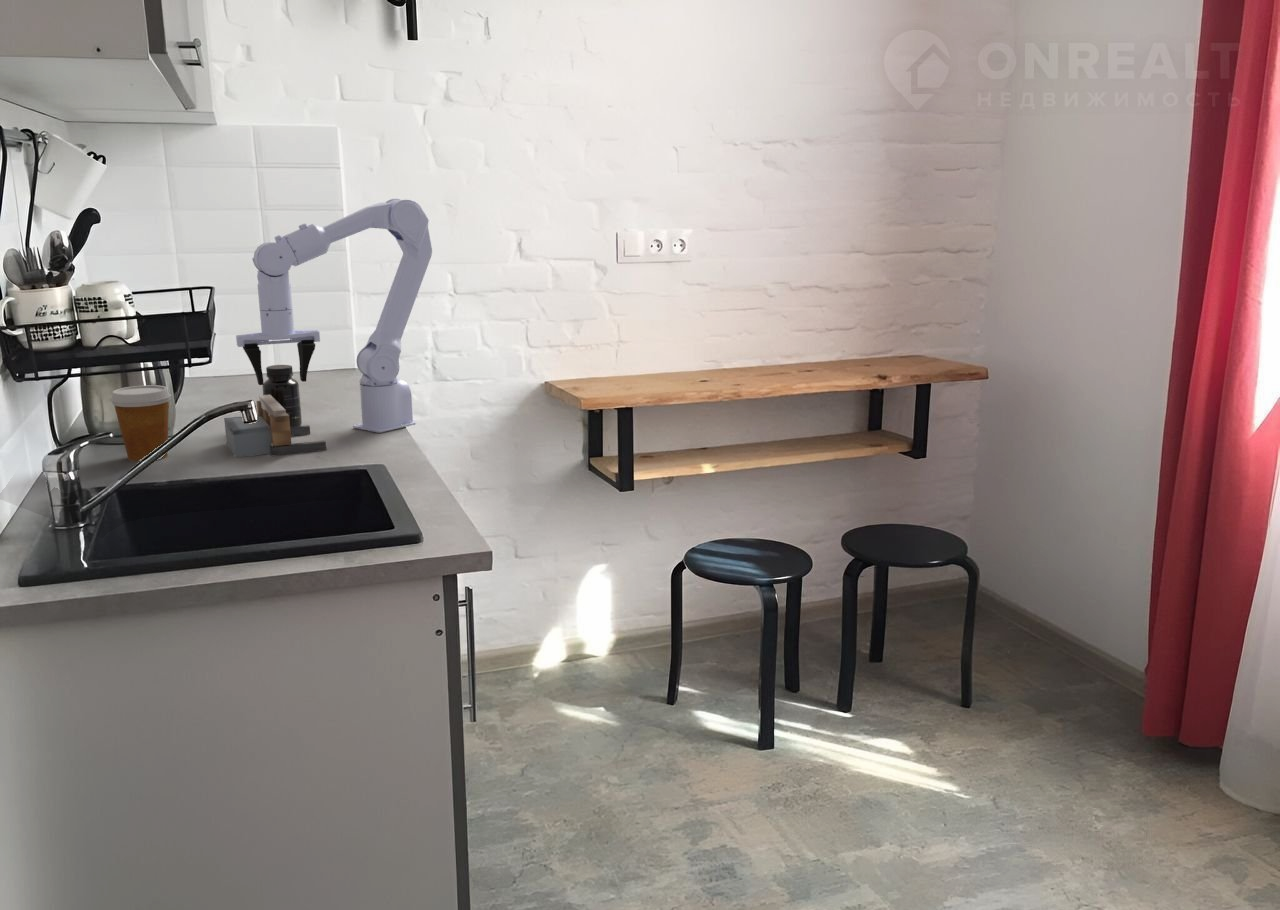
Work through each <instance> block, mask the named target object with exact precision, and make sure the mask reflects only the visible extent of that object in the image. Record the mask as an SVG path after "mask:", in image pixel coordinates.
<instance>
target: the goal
mask: <svg viewBox="0 0 1280 910" xmlns="http://www.w3.org/2000/svg"><path fill="white" fill-rule="evenodd" d="M257 415H258V414H257ZM223 422H224V432H225V440H226V441H225V442H226V445H227V446H228V448H229V450H230V452H232V454H233V456H234V458H242V457H251V456H260V455H270V446H273V444H272V442H271V430H270V426H269V425H268V424H267V423H266V422H265V420H264V419H263V418H262V417H261V416H260V415H258V421H257V422H256V423H252V424H244V423H243V421H242V417H241V416H233V417H224V421H223Z"/></svg>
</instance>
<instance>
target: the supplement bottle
mask: <svg viewBox="0 0 1280 910" xmlns="http://www.w3.org/2000/svg"><path fill="white" fill-rule="evenodd" d="M265 369H266V378H267V380H265V381H263V383H264V385H261V386H262V389H261V390H262V395H271V396H272V397H273V398H274V399H275V400H276V401H277V402H278V403H279V404H280V405H281V406H282V407H283V408H284V409H285V410H286V413H287V414H288V415H289V420H290V427H295V426H302V423H303V422H302V407H301V405H302V404H301V394H300V393H301V392H300V384H299V382H298V380H296V379H294V378H293V377H294V372H293V371H294V370H293V366H292V365H290V364H274V365H268V366H267V367H265Z"/></svg>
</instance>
